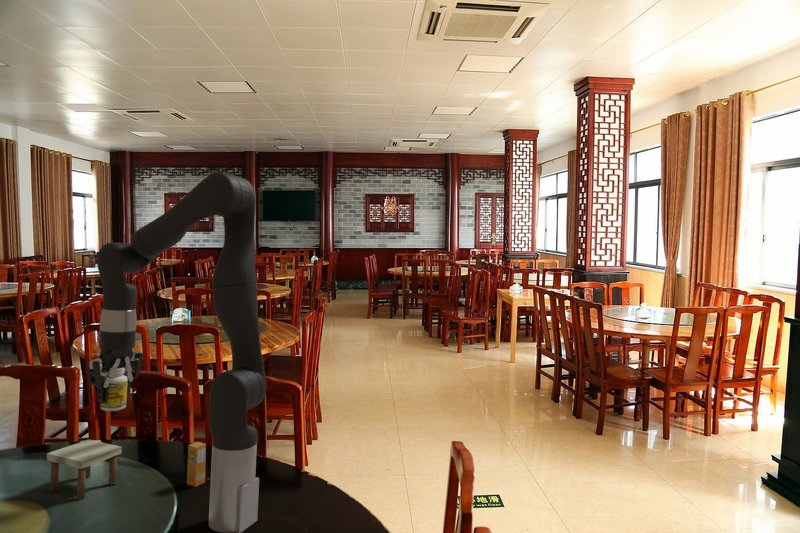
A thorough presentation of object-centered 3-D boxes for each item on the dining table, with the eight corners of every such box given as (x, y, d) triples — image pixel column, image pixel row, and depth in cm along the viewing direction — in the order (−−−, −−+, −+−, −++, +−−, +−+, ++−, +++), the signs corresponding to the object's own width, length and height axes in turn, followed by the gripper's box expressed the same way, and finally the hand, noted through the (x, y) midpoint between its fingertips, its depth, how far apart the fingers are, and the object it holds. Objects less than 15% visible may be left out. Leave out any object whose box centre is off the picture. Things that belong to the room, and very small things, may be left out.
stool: (120, 483, 133) (121, 446, 133) (79, 501, 123) (81, 461, 122) (87, 474, 137) (88, 439, 137) (45, 491, 126) (47, 453, 126)
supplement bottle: (124, 404, 131) (127, 364, 130) (127, 410, 126) (130, 369, 126) (99, 406, 128) (101, 365, 127) (101, 412, 123) (103, 370, 123)
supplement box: (185, 484, 134) (187, 444, 134) (196, 479, 137) (198, 440, 137) (194, 487, 133) (196, 447, 132) (205, 483, 136) (207, 443, 135)
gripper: (103, 333, 118) (99, 410, 119) (154, 326, 132) (150, 395, 132) (78, 329, 121) (74, 404, 121) (131, 323, 134) (126, 390, 135)
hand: (113, 399), depth 127 cm, fingers closed on supplement bottle, 5 cm apart
